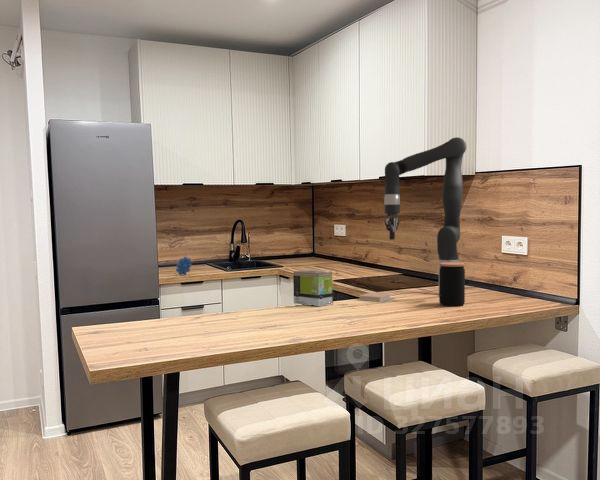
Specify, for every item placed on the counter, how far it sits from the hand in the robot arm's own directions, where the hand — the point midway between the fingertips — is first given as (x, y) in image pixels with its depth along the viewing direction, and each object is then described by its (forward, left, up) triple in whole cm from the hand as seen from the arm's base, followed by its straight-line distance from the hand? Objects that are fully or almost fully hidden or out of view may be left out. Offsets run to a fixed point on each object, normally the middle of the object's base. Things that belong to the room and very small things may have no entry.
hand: (392, 239), depth 275 cm
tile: (-4, +22, -24) cm, 33 cm away
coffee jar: (-35, +15, -27) cm, 47 cm away
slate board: (-4, +26, -27) cm, 38 cm away
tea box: (+18, +44, -27) cm, 55 cm away
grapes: (+156, -12, -27) cm, 159 cm away
